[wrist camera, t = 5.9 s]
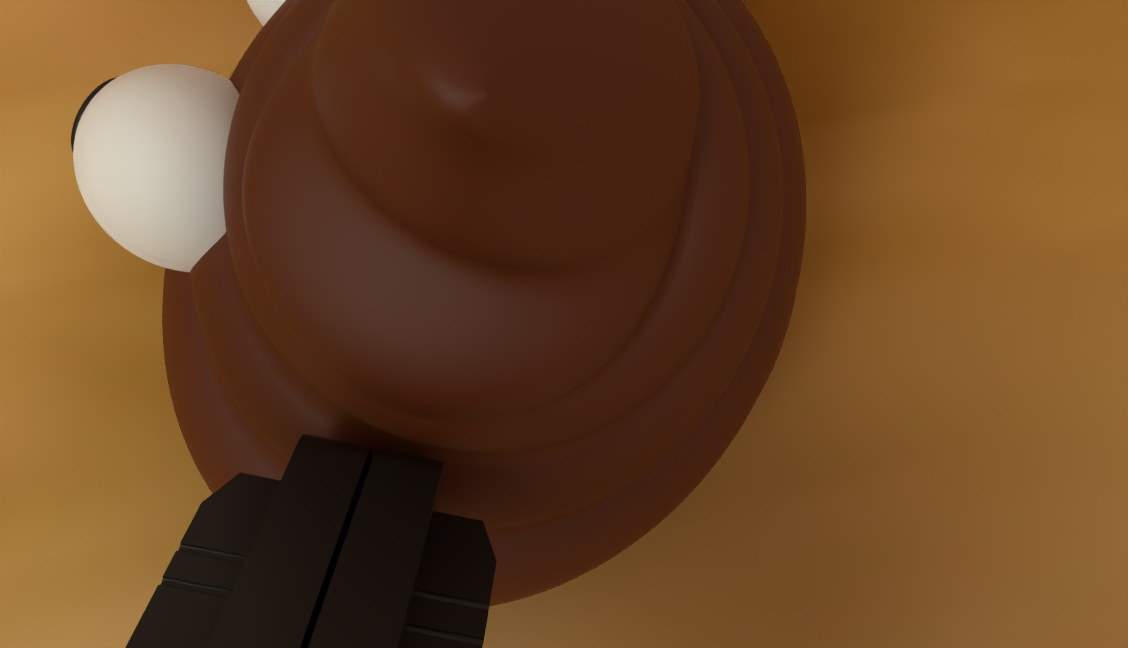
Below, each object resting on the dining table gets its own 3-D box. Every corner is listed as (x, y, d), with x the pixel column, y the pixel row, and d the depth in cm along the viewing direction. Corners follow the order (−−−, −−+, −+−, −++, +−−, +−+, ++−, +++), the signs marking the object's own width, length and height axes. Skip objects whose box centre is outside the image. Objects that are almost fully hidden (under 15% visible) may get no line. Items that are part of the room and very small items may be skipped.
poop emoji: (553, 717, 15) (695, 978, 6) (48, 410, 15) (-544, 221, 6) (862, 159, 17) (1301, -258, 8) (417, -104, 18) (373, -793, 9)
